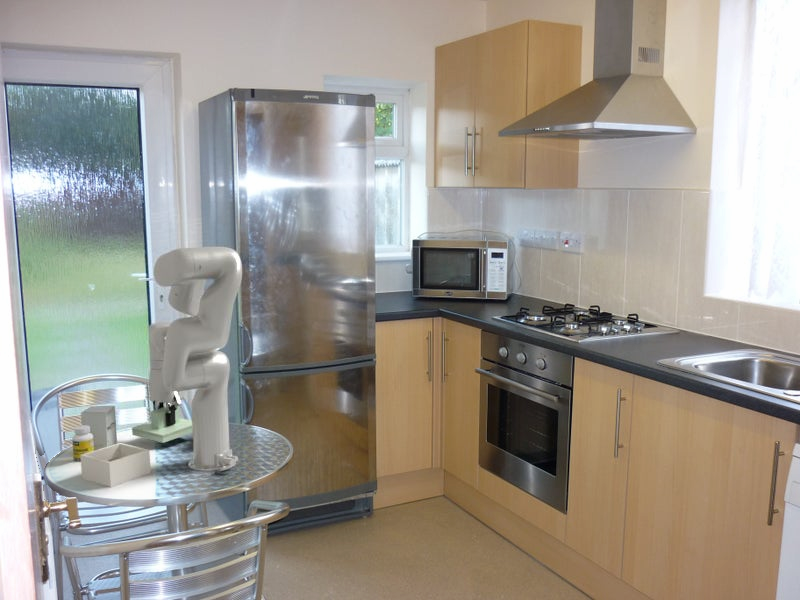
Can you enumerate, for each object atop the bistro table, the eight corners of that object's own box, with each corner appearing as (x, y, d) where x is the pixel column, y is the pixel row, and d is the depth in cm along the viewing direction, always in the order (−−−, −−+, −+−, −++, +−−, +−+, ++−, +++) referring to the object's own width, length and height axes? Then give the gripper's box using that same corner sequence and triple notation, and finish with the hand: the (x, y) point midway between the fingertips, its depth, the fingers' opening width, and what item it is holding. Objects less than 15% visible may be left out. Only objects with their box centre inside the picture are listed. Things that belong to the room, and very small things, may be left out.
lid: (199, 429, 230) (198, 406, 229) (163, 442, 219) (161, 418, 217) (169, 422, 237) (168, 400, 236) (132, 434, 226) (130, 411, 225)
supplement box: (108, 454, 217) (105, 411, 215) (82, 455, 217) (79, 412, 215) (118, 446, 224) (115, 405, 222) (93, 447, 224) (90, 405, 223)
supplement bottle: (70, 464, 209) (67, 429, 208) (79, 457, 214) (76, 424, 213) (89, 464, 209) (87, 429, 208) (98, 457, 214) (95, 424, 213)
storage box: (150, 475, 199) (149, 449, 198) (111, 490, 189) (109, 463, 188) (122, 467, 206) (120, 442, 205) (82, 481, 196) (80, 455, 195)
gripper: (192, 365, 224) (194, 425, 226) (155, 358, 233) (158, 416, 235) (171, 369, 218) (174, 431, 220) (135, 363, 227) (138, 422, 229)
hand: (166, 423), depth 228 cm, fingers closed on lid, 3 cm apart
